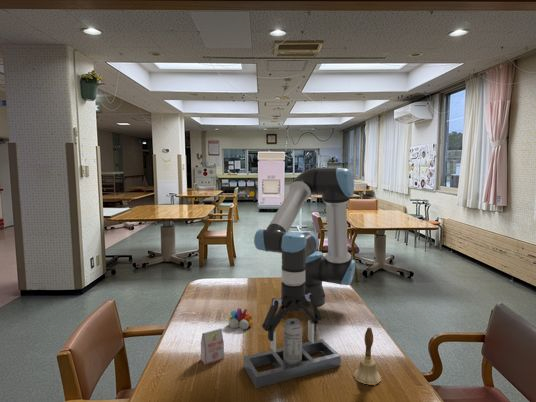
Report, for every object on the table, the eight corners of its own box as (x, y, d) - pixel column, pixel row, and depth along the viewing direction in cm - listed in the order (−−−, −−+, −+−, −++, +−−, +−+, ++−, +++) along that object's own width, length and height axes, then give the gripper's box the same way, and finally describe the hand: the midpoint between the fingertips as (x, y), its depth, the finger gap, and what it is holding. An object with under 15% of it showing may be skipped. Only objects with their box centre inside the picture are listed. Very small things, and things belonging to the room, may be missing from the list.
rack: (321, 348, 123) (321, 338, 123) (340, 365, 112) (340, 355, 112) (243, 366, 112) (243, 356, 111) (256, 388, 101) (256, 377, 101)
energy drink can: (303, 362, 114) (304, 319, 112) (299, 372, 108) (299, 327, 107) (286, 358, 116) (286, 316, 114) (280, 368, 110) (281, 324, 109)
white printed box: (201, 359, 116) (200, 331, 115) (219, 353, 119) (219, 326, 118) (204, 364, 113) (204, 336, 112) (223, 358, 116) (223, 330, 115)
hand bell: (349, 369, 110) (351, 322, 108) (375, 368, 111) (377, 321, 109) (358, 386, 102) (360, 336, 100) (385, 385, 103) (388, 335, 101)
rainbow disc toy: (249, 331, 135) (249, 314, 134) (226, 329, 137) (226, 311, 136) (254, 322, 143) (254, 305, 142) (232, 319, 145) (232, 303, 144)
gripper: (321, 273, 117) (319, 332, 119) (252, 283, 107) (252, 347, 110) (333, 280, 110) (331, 343, 113) (260, 291, 101) (260, 359, 103)
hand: (292, 345), depth 111 cm, fingers open, 13 cm apart
